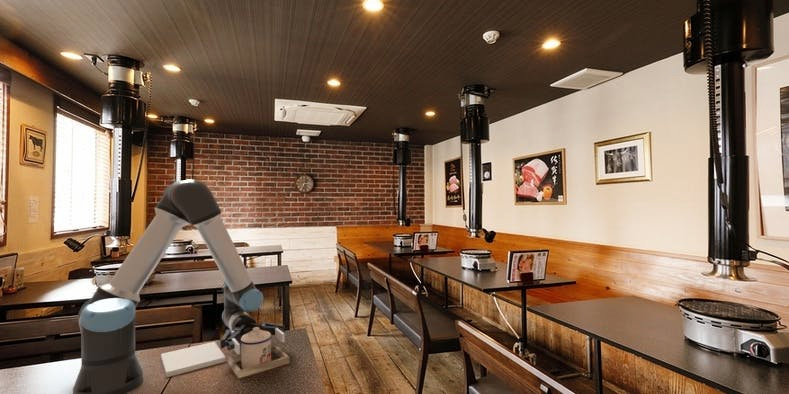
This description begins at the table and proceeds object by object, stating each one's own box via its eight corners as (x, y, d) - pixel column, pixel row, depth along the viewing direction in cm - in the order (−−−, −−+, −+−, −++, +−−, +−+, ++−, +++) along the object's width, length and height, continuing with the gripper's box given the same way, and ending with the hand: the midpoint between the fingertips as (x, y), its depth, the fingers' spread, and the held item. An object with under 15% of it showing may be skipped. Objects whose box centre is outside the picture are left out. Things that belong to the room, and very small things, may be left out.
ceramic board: (160, 358, 117) (160, 353, 117) (214, 345, 127) (214, 341, 127) (166, 377, 104) (166, 372, 104) (225, 361, 114) (225, 357, 114)
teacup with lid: (264, 372, 107) (264, 333, 107) (235, 372, 107) (234, 333, 107) (279, 354, 119) (279, 319, 119) (252, 354, 119) (252, 319, 119)
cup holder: (228, 363, 113) (228, 357, 113) (275, 350, 122) (275, 344, 122) (238, 378, 103) (238, 371, 103) (289, 363, 112) (289, 356, 113)
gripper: (277, 327, 135) (300, 345, 118) (203, 344, 119) (218, 367, 103) (277, 307, 135) (300, 322, 118) (203, 322, 119) (217, 341, 103)
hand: (262, 343), depth 110 cm, fingers open, 13 cm apart
